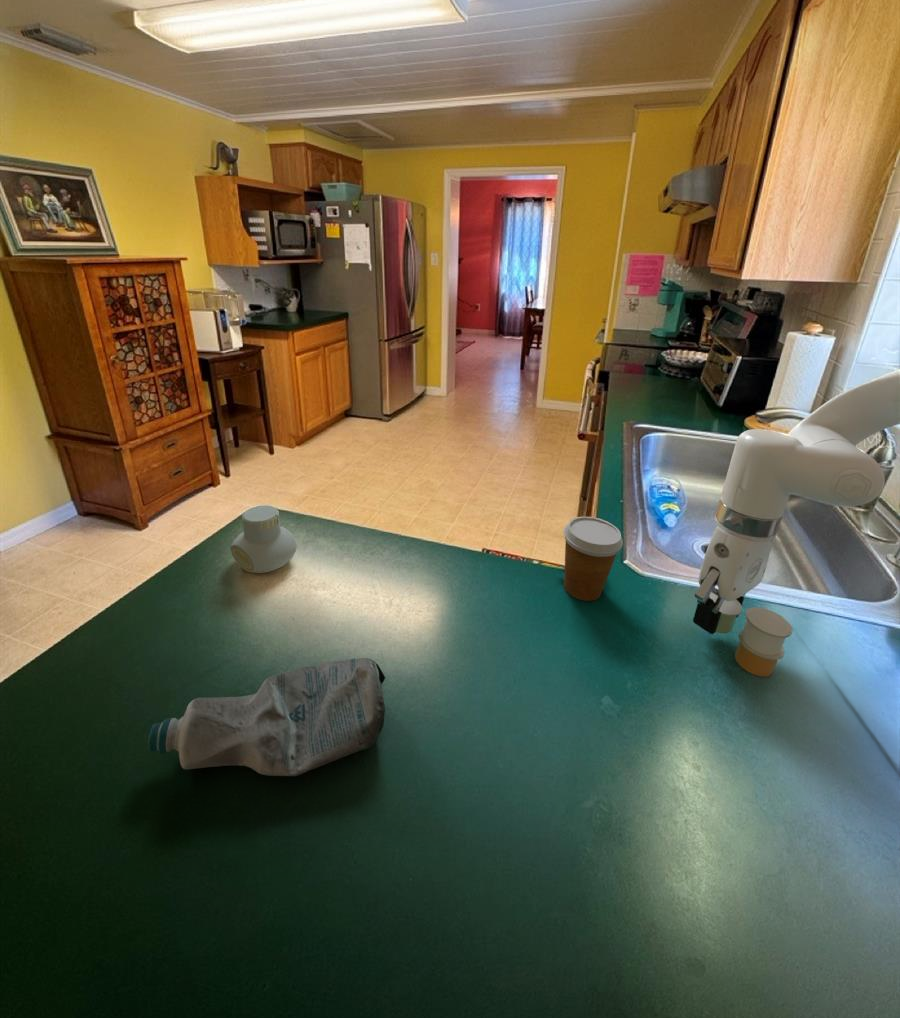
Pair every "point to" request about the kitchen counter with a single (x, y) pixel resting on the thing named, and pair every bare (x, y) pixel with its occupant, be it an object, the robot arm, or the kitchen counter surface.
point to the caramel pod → (755, 659)
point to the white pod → (765, 631)
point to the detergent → (282, 721)
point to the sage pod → (727, 614)
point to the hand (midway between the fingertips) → (715, 619)
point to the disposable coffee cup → (589, 556)
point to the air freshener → (263, 541)
